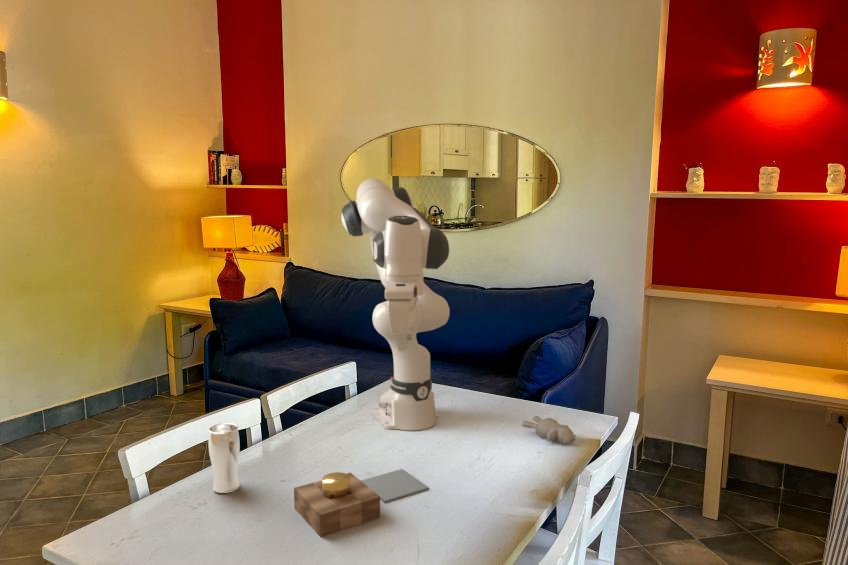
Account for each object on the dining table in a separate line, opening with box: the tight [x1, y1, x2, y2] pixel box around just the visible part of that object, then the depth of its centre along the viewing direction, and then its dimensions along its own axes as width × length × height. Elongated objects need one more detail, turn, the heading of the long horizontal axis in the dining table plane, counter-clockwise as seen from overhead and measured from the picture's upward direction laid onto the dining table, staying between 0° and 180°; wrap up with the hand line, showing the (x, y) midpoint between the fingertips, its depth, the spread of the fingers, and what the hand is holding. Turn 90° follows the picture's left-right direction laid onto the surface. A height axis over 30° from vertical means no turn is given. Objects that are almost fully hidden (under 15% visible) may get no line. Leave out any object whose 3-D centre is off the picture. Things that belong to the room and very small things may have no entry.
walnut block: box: [293, 472, 381, 538], centre depth 137 cm, size 14×14×5 cm
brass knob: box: [321, 471, 350, 500], centre depth 137 cm, size 6×6×8 cm
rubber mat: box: [360, 468, 430, 504], centre depth 150 cm, size 12×12×1 cm
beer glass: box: [208, 422, 241, 493], centre depth 147 cm, size 7×7×15 cm
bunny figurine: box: [521, 415, 577, 446], centre depth 179 cm, size 10×5×15 cm
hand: (405, 345), depth 145 cm, fingers open, 8 cm apart
